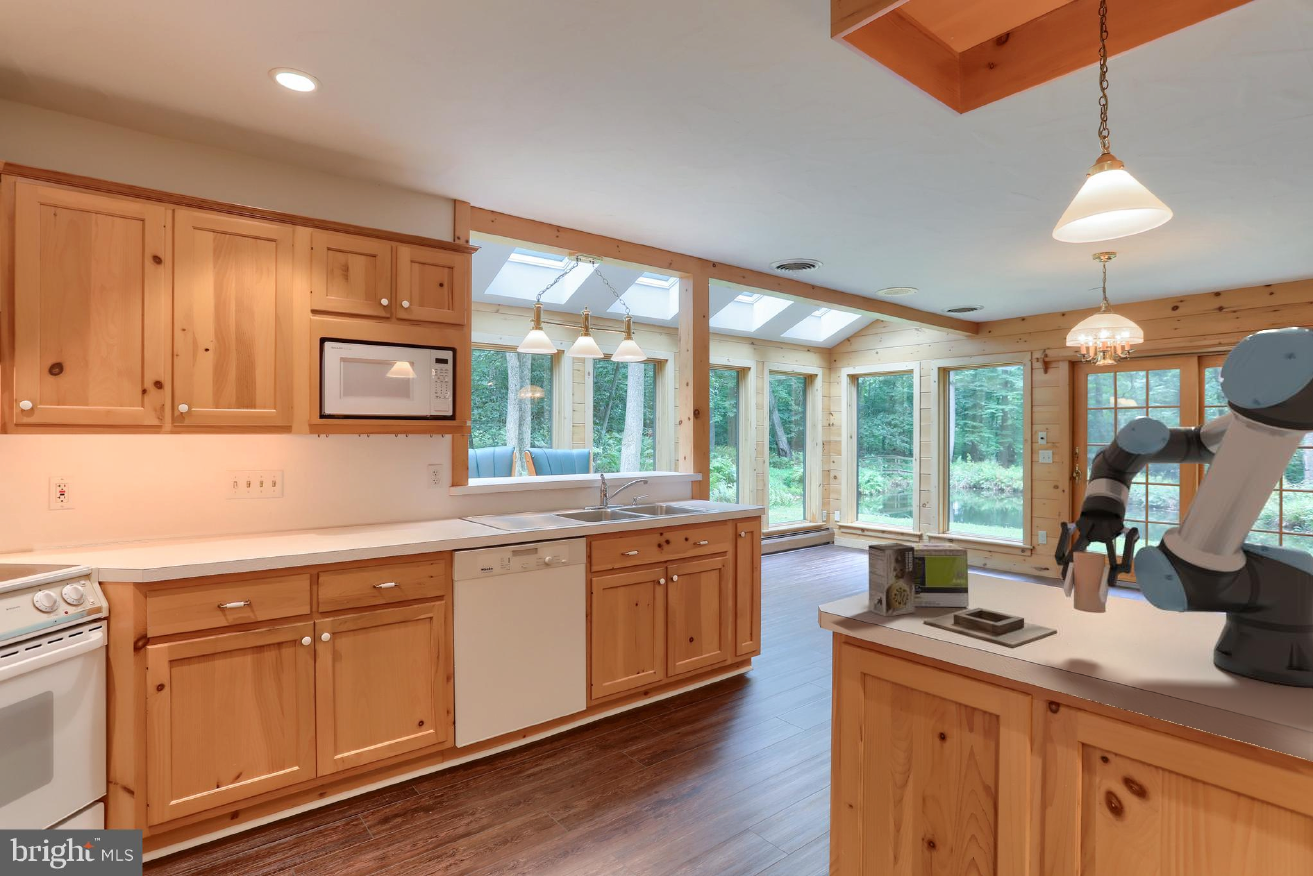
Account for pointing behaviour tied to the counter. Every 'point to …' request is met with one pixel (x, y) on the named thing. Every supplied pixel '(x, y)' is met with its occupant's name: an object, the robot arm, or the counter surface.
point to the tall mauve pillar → (1088, 581)
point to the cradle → (991, 626)
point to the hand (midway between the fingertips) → (1084, 595)
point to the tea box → (940, 575)
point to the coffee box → (891, 579)
